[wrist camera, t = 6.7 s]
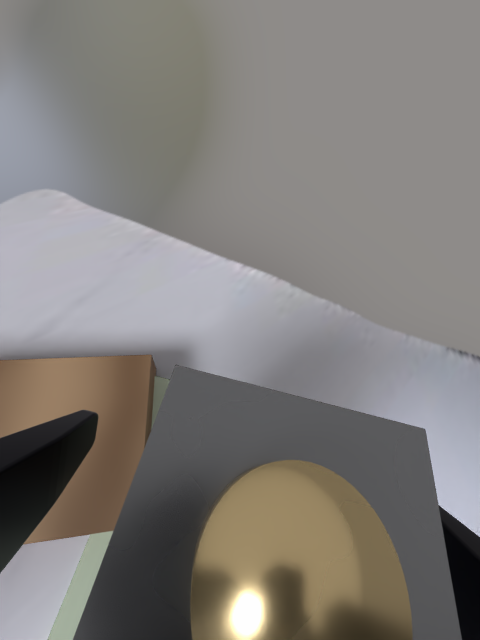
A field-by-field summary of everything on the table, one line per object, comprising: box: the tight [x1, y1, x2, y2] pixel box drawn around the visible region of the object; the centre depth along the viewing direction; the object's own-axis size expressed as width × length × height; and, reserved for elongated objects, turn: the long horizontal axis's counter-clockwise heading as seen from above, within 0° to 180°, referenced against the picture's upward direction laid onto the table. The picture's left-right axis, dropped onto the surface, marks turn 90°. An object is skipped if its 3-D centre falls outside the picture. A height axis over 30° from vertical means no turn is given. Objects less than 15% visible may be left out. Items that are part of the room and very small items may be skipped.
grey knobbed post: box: [73, 365, 462, 640], centre depth 7 cm, size 4×4×11 cm
